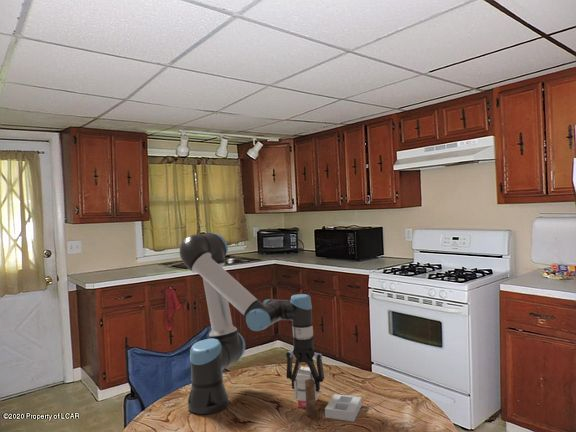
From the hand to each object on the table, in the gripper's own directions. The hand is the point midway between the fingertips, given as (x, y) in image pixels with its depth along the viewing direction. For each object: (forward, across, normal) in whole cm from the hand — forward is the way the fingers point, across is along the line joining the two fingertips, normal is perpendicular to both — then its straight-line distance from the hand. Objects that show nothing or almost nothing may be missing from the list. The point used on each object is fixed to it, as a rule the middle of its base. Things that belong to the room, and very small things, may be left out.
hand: (306, 398), depth 154 cm
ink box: (+2, 0, 0) cm, 2 cm away
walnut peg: (+2, +5, -9) cm, 10 cm away
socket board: (+2, +15, -3) cm, 15 cm away
